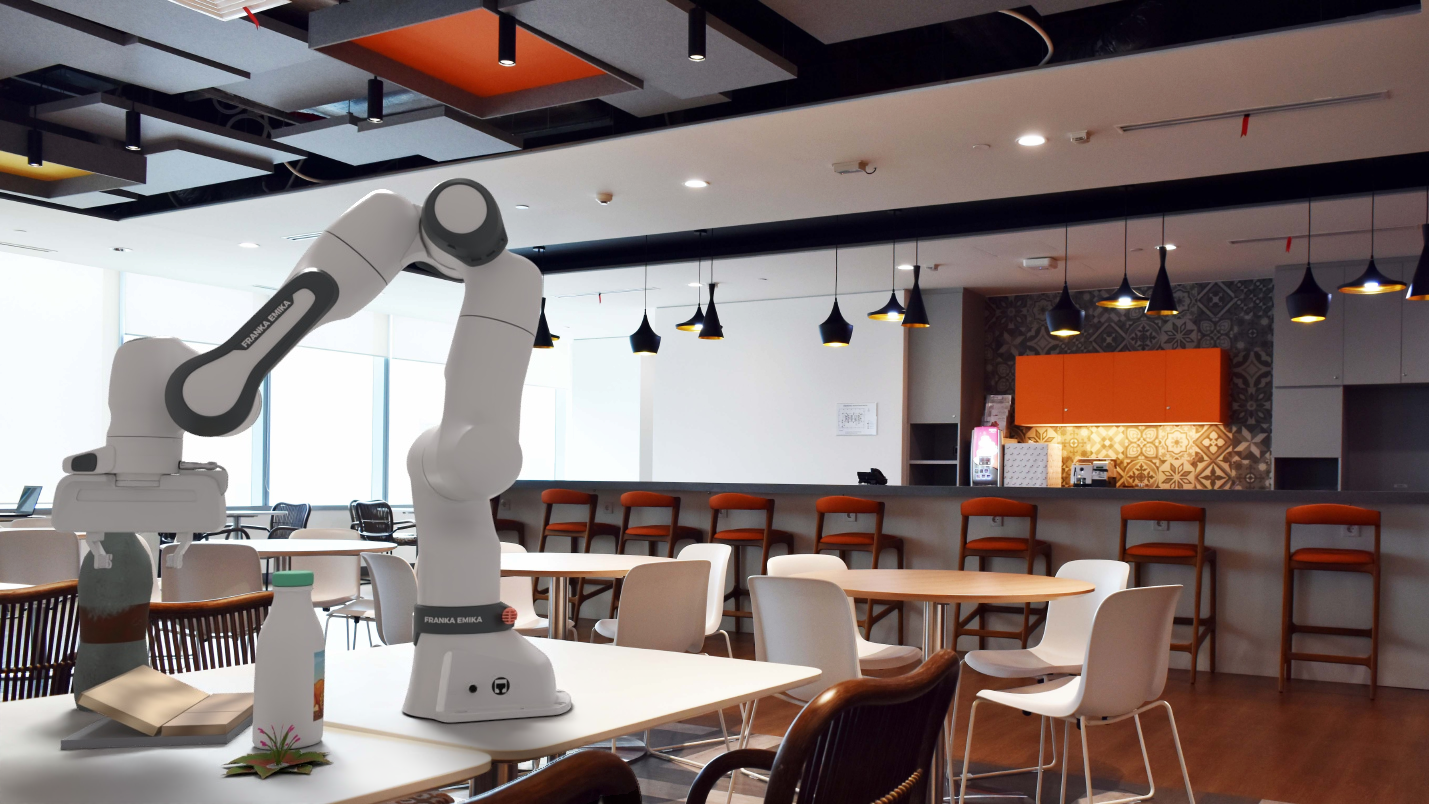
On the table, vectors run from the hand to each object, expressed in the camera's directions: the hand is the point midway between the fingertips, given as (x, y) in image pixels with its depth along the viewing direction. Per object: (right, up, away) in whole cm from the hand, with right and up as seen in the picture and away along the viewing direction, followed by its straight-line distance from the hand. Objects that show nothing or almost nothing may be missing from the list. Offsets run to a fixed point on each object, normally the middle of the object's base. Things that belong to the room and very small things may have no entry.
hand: (138, 568), depth 137 cm
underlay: (+6, -19, -4) cm, 21 cm away
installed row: (+12, -18, -3) cm, 22 cm away
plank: (+3, -16, -4) cm, 17 cm away
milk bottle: (+24, -19, -12) cm, 33 cm away
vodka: (-9, -20, +9) cm, 24 cm away
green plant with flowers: (+27, -19, -22) cm, 39 cm away
